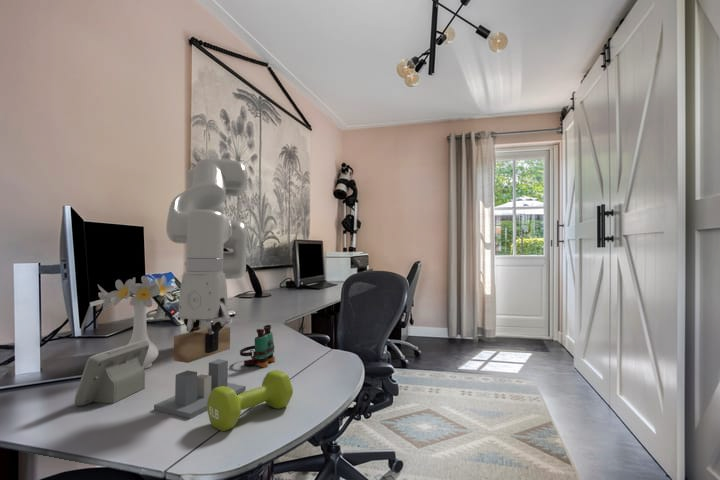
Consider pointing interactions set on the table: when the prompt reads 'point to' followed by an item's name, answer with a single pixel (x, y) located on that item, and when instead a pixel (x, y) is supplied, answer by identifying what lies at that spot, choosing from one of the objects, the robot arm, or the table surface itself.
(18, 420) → the table surface
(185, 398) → the display stand
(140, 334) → the flower vase
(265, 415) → the table surface
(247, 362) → the binoculars
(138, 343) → the digital clock
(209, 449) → the table surface
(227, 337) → the tan bar
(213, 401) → the dumbbell
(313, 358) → the table surface
